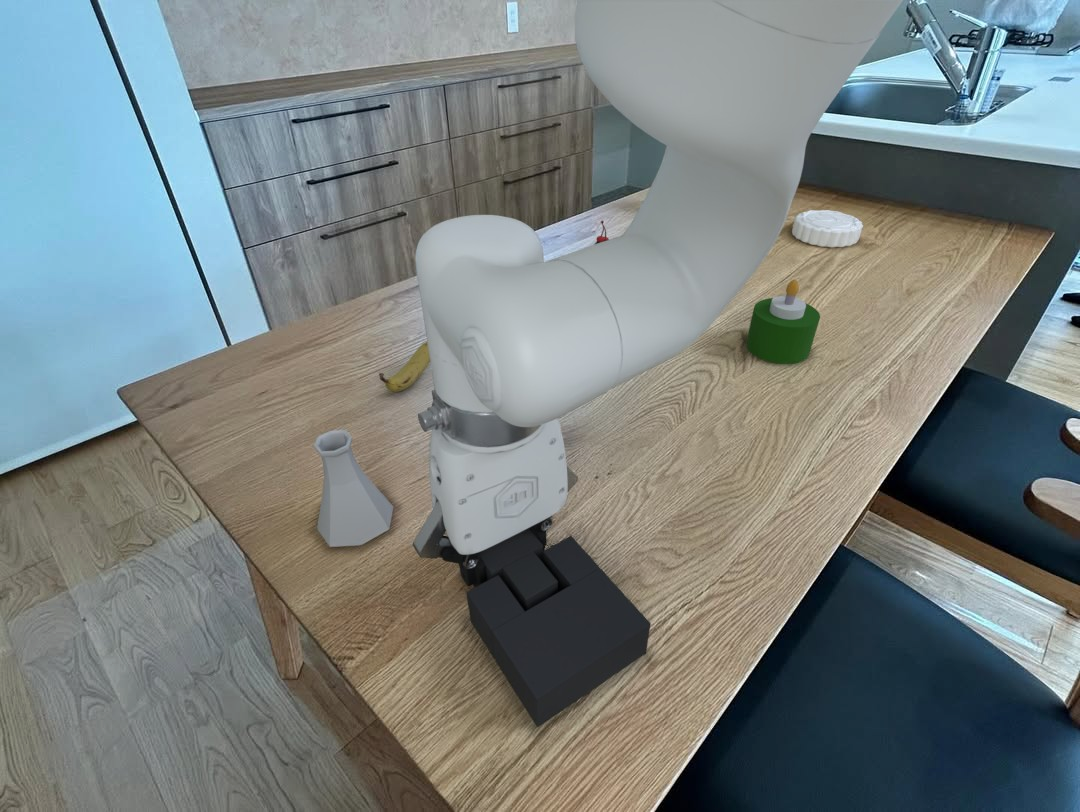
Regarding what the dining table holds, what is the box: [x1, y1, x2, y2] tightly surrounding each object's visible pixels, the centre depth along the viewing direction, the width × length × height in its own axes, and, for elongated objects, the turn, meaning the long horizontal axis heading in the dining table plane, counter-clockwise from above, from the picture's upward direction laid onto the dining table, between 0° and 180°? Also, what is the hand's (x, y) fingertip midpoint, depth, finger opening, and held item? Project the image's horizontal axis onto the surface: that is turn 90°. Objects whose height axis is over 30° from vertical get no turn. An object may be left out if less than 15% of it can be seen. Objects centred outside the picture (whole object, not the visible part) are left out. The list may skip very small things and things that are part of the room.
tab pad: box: [480, 528, 558, 611], centre depth 49 cm, size 9×5×4 cm, turn 33°
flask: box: [313, 429, 395, 548], centre depth 54 cm, size 7×7×10 cm
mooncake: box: [791, 209, 864, 249], centre depth 112 cm, size 12×12×4 cm
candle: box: [745, 279, 821, 365], centre depth 78 cm, size 8×8×10 cm
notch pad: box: [465, 535, 652, 728], centre depth 45 cm, size 10×10×4 cm
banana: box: [378, 341, 431, 393], centre depth 74 cm, size 10×2×4 cm, turn 148°
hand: (504, 566), depth 51 cm, fingers closed on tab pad, 5 cm apart
